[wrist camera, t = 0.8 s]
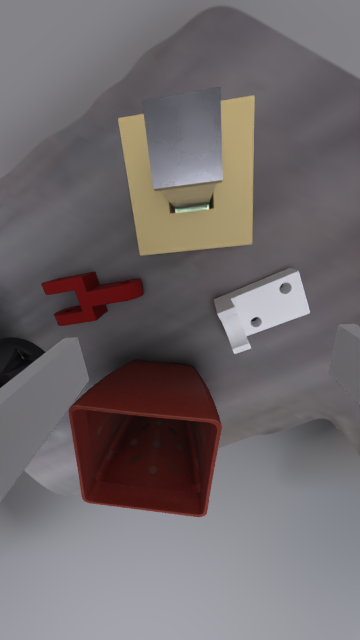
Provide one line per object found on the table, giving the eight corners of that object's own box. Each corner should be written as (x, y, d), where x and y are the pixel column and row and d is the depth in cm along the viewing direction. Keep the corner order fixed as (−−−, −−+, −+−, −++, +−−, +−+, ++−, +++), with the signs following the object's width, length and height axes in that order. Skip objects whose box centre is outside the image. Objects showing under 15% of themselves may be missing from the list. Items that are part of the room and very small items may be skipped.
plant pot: (113, 342, 42) (65, 406, 27) (213, 351, 42) (223, 422, 26) (118, 418, 49) (81, 503, 34) (203, 426, 49) (206, 518, 33)
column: (177, 215, 33) (151, 190, 14) (174, 180, 32) (139, 98, 12) (207, 212, 33) (224, 181, 14) (206, 176, 31) (222, 83, 12)
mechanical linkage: (68, 316, 41) (51, 327, 36) (53, 279, 39) (33, 285, 34) (149, 303, 39) (143, 312, 34) (140, 263, 37) (131, 267, 32)
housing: (151, 251, 36) (136, 256, 27) (137, 146, 31) (112, 110, 22) (239, 241, 34) (255, 244, 25) (239, 130, 29) (258, 85, 20)
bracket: (227, 333, 40) (234, 354, 33) (213, 299, 38) (217, 313, 31) (300, 305, 37) (324, 322, 30) (289, 267, 35) (312, 275, 28)
